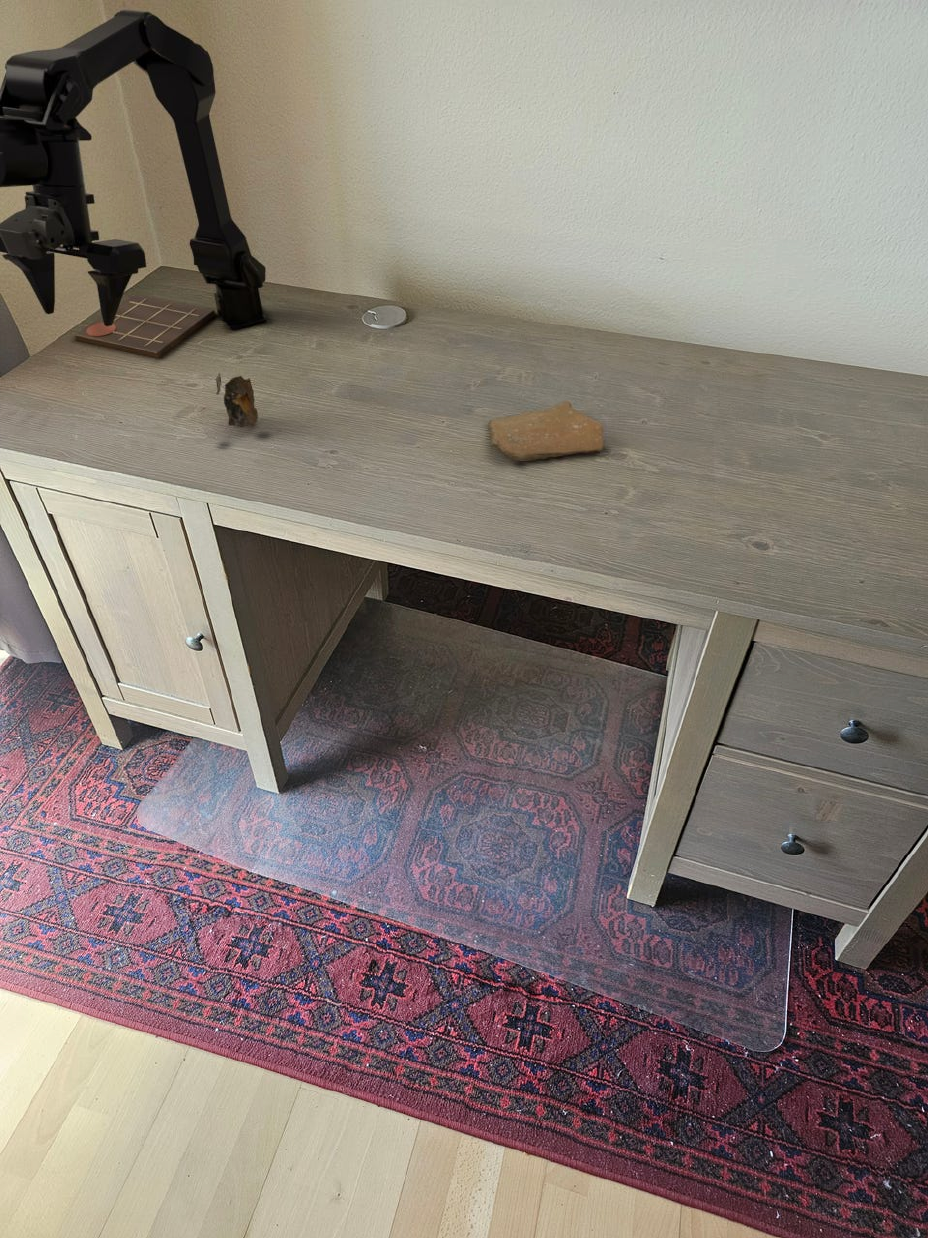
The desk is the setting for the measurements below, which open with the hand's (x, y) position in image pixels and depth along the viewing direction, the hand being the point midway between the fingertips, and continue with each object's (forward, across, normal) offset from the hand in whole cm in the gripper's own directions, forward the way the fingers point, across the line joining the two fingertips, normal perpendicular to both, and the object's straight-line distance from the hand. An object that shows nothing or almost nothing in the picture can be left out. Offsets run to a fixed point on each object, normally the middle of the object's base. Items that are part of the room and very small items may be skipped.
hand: (78, 319), depth 107 cm
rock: (+14, +18, +9) cm, 24 cm away
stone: (+11, +58, +22) cm, 63 cm away
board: (+8, -13, +29) cm, 33 cm away
